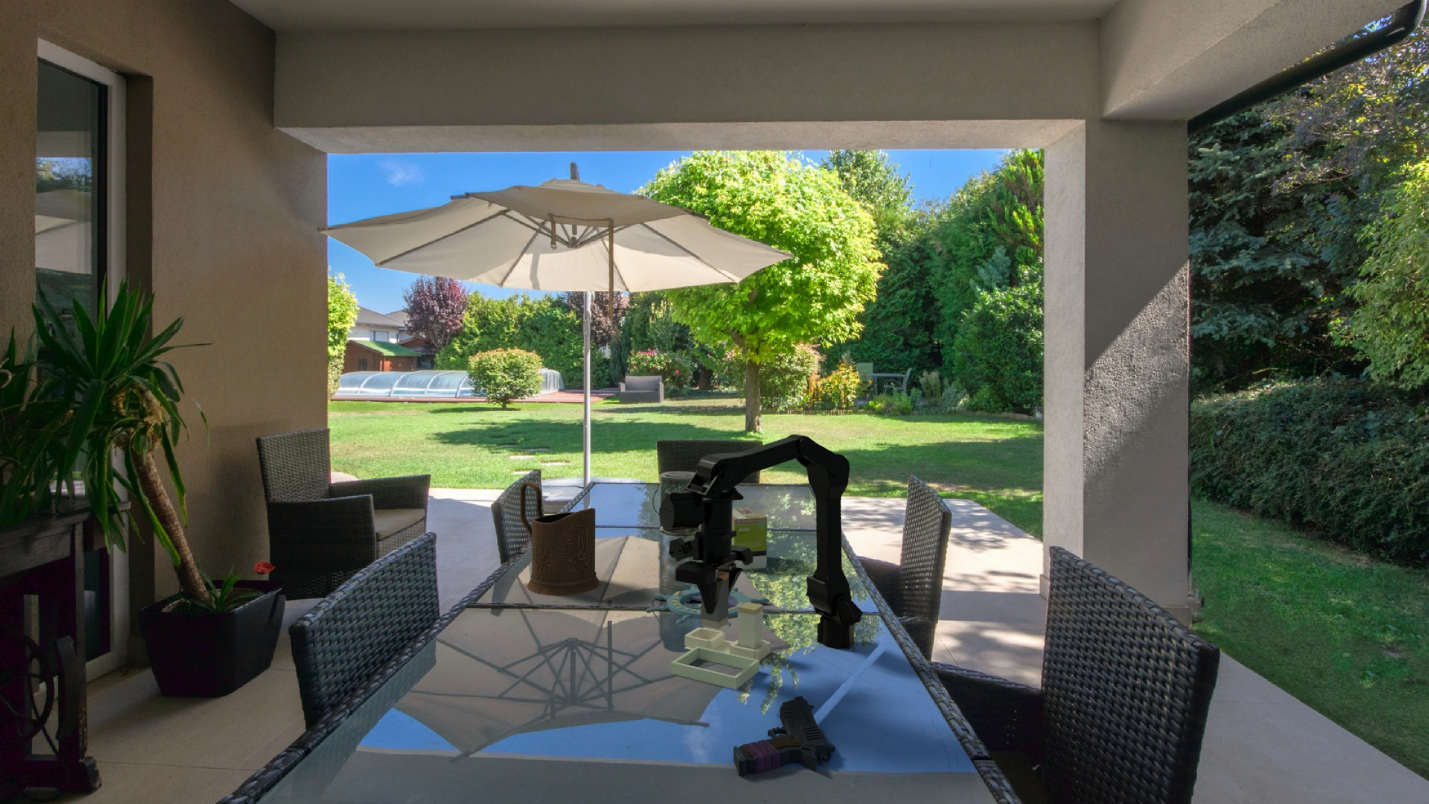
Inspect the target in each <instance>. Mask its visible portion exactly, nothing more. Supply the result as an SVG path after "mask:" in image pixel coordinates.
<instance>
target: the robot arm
mask: <svg viewBox="0 0 1429 804" xmlns="http://www.w3.org/2000/svg"><path fill="white" fill-rule="evenodd" d="M793 460H796V462H797V463H798V464H800V465H801V466H802V467H804V468H805V469H806V474H807V479H808V484H809V486H810V488H811V490H812V492H813V494H814V496H815V517H816V518H815V525H816V526H815V527H816V529H815V530H816V532H815V533H816V569H815V570H814V572H813V573H812V575H811V576H810V575H807V576H806V593H805V596H806V597H808V601H809V604H811V605H812V606H813V607H812V608H813V610H814V613H815V614H816V615H819V616H820V617H819V622H818V623H817V624H816V625H817V627H816V628H817V631H816V633H817V634H816V642H817V643H819V644H820V645H823V646H825V647H827V648H830V649H835V650H850V649H851V648H852V647H853V646H855V624H858V623H860V622H861V619H862V615H863V611H862V610H861V609H860V607H859V606H858V605H857V604H856V603H855V602H854V601H853V600H852V592H851V585H850V583H849V581H848V578H847V577H846V574H845V572H844V570H843V554H842V553H843V550H842V549H843V548H842V547H843V545H842V543H843V541H842V496H843V494H844V493H845V492H846V489H847V487H848V485H849V479H850V472H851V467H850V466H851V465H850V461H849V459H847V457H845V455H843V454H840V453H835V451H834V452H833V451H832V450H830V449H829V448H826V447H825V446H822V445H821V444H819V443H817V442H816V441H815V440H813V439H812V438H810V437H809V436H808V435H805V434H804V435H802V434H790V435H788V436H786V437H784V438H780V439H779V440H778V439H777V440H774V441H772V442H769V443H768V442H767V443H765V444H762V445H759V446H756V447H753V448H749V449H747V450H743V451H739V452H721V453H712V454H707V455H704V456H702V457H701V458H700V459H699V462H698V463H697V467H696V470H695V472H694V473H693V475H692V477H691V478H690V479H689V481H688V483H687V484H686V486H685V487H684V490H679V491H675V490H666V491H665V494H664V495H665V496H664V498H663V499H662V501H661V503H660V507H659V508H658V509H659V510H658V514H659V515H658V517H659V521H660V525H661V527H662V528H663V530H665V531H666V532H671V531H681V530H691V529H698V528H699V526H700V529H699V530H695V533H694V537H693V538H690V539H685V540H684V539H683V538H682V537H678V538H674V539H672V540H670V541H669V546H668V547H669V548H668V555H669V556H670V557H671V558H673V559H674V560H675V562H676V563H678V562H681V561H682V560H684V559H688V558H692V560H688V561H686V562H682V563H681V564H679V565H678V566H676V568H675V569H674V580H675V582H678V583H679V582H680V583H685V584H691V585H696V587H697V589H699V591H700V594H701V597H702V600H703V603H704V606H705V610H706V613H707V614H713V611H714V608H715V606H716V602H717V599H718V595H719V592H720V589H721V586H722V582H723V579H722V578H718V571H724V572H729V595H730V593H731V591H732V589H733V588H735V585H736V583H737V581H738V579H739V577H740V575H741V573H742V572H743V571H744V570H743V569H742V568H738V567H736V564H735V561H736V560H738V561H742V563H743V564H744V565H749V564H751V563H753V552H752V551H751V550H750V548H748V547H742V546H735V545H732V538H733V537H735V536H737V531H736V530H732V515H733V508H734V505H733V502H734V501H742V500H744V498H745V497H744V496H743V495H742V493H740V492H739V491H738V490H737V488H736V486H738V485H740V484H741V483H744V481H745V480H746V479H747V478H748V477H749V476H751V475H753V474H754V473H758V472H760V471H763V470H766V469H769V468H772V467H775V466H778V465H781V464H784V463H787V462H790V461H793ZM728 597H729V596H728Z"/></svg>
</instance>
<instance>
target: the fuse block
mask: <svg viewBox="0 0 1429 804" xmlns="http://www.w3.org/2000/svg"><path fill="white" fill-rule="evenodd" d="M737 644H738V639H736V640H735V641H733V640H732V641H731V640H727V639H726V632H723V631H722V630H719V629H714V628H709V627H697V628H695V629H693V630H691V631H690V632H688V633H686V634H685V635H684V646H685V647H684V649H686V650H689V651H690V650H692V649H693V648H695V647H697V646H698V647H703V648H707V649H712V650H716V651H721V652H725V653H729V654H734V655H738V656H743V657H747V658H752V659H756V660H759V662H760V661H762V660H763V659H764V658H765V657H767V656H768V655H769V654H771V645H772V644H771V642H770V641H768V640H764V639H763V645H762V646H760V647H759V648H758V649H756V650H754V649H749V648H744V647H740V646H737Z"/></svg>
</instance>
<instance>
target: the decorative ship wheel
mask: <svg viewBox="0 0 1429 804" xmlns="http://www.w3.org/2000/svg"><path fill="white" fill-rule="evenodd" d="M738 591H739V587H733V589H732V591H731V593H730V595H729V597H728V619H729V618H734V617H738V607H739V606H741V605H742V604H744V603H746V602H750V603H755V604H761V605H765V604H768V603H769V602H770V599H769V598H767V597H761V598H759V599H758V598H754V597H752V598H751V597H750V596H747V595H745V594H743V593H741V592H738ZM654 598H655V599H657V601H658V600H659V601H662V600H663V601H664V600H665V601H666V605H660V607H654V606H651V607H649V608H647V609H645V612H646V613H647V614H651V613H652V612H655V611H658V610H660V611H661V610H664V611H665V610H670V611H671V612H672V613H675V614H677V615H680V616H682V617H681V618H680V619H677V620H676V622H675V624H677V625H678V624H682V623H684V622H685V621H686V620H690V619H691V618H692V619H693V618H694V619H701V609H698V608H691V607H688V606H685V605H684V604H687V603H686V602H688V601H691V600H695V601H697V602H700V601H701V594H700V591H699V589H698V587H697V586H695V585H692V586H690V589H685V590H682V591H676V592H674V593H673V594H667V595H664V594H663V593H655V594H654ZM695 601H694V602H695ZM691 602H692V601H691ZM682 603H683V604H682ZM688 603H689V602H688ZM697 607H701V603H699V604H698V605H697ZM767 618H769V614H768V613H766V612H764V611H763V619H767ZM725 626H727V627H730V626H731V622H730V621H728V624H726V625H725Z"/></svg>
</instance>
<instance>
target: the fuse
mask: <svg viewBox="0 0 1429 804" xmlns="http://www.w3.org/2000/svg"><path fill="white" fill-rule="evenodd" d="M763 612H764V604H760V603H757V604H755V603H750V602H746V603H744V604H742V605H741V606H739V607H738V616H737V640H738V644H737V646H740V647H744V648H749V649H754V650H756V649H758V648H759V647H760V646H762V645H763V640H764V638H763V635H764V634H763V633H764V618H763Z"/></svg>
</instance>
